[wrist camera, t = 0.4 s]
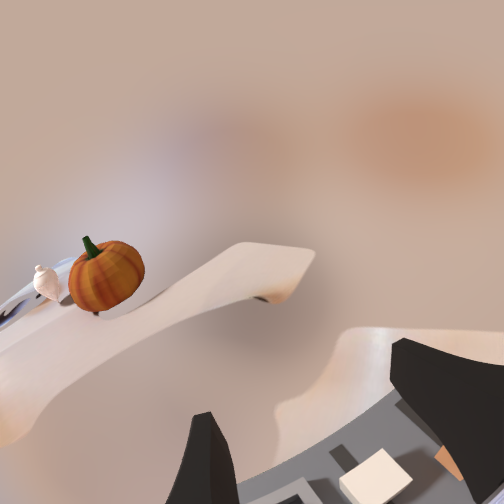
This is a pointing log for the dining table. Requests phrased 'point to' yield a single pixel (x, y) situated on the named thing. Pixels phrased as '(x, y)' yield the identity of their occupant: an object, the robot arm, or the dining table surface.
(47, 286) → the spinning top
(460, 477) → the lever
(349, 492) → the lever middle
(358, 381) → the dining table surface
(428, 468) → the panel
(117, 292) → the pumpkin
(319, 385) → the dining table surface
